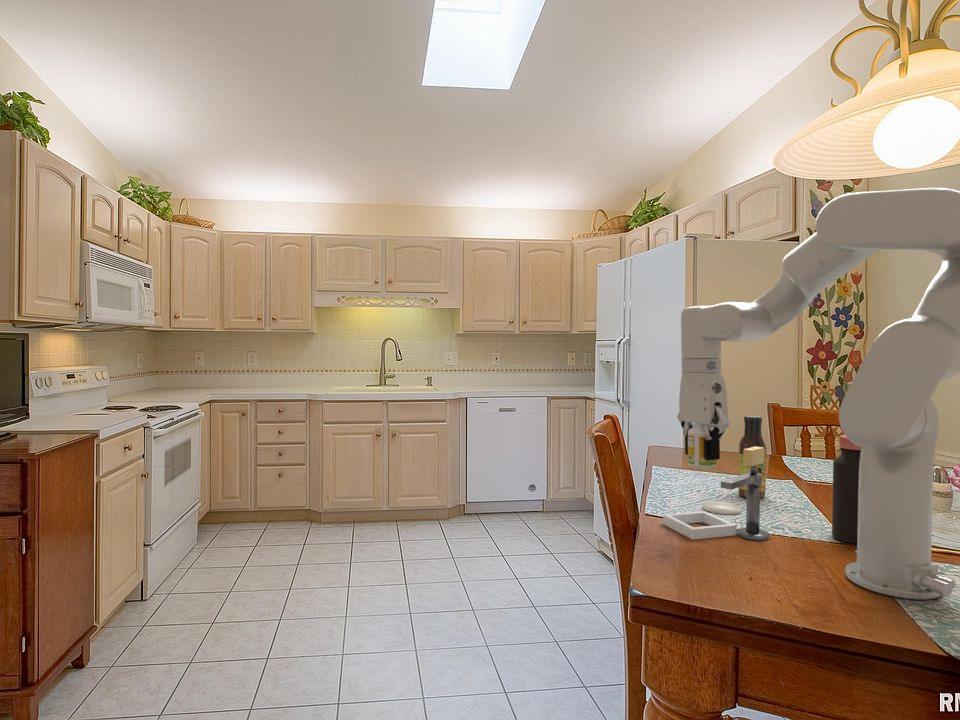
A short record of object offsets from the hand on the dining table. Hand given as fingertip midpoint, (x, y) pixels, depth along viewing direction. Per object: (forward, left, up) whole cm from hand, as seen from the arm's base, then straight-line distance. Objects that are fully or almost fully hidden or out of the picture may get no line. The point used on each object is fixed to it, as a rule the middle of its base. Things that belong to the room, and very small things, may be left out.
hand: (702, 456), depth 117 cm
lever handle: (-7, -4, -5) cm, 10 cm away
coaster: (+12, -14, -15) cm, 23 cm away
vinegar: (-12, -25, -15) cm, 32 cm away
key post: (-5, -8, -15) cm, 18 cm away
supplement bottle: (0, 0, -2) cm, 2 cm away
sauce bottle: (+20, -29, -15) cm, 38 cm away
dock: (+1, 0, -15) cm, 15 cm away
